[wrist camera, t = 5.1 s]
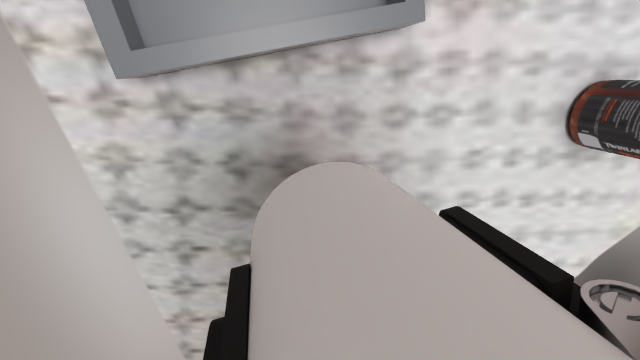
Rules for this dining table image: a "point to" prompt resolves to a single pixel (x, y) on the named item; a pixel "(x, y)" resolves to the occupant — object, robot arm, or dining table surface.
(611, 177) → the dining table surface
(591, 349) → the can
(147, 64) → the tray
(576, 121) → the supplement bottle
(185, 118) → the dining table surface
